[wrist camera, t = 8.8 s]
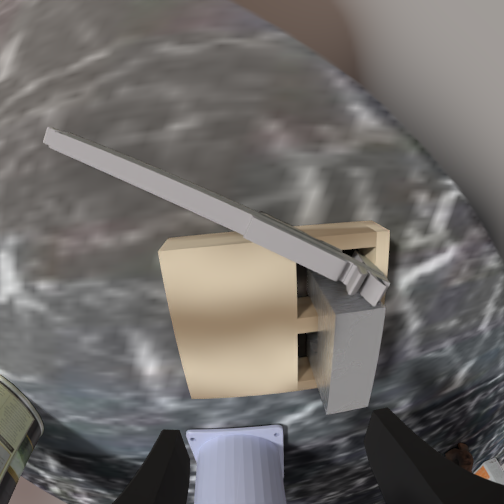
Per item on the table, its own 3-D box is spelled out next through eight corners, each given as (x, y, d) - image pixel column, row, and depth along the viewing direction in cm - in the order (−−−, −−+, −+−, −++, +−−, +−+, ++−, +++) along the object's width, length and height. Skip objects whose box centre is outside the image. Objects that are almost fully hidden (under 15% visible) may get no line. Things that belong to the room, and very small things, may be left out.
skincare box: (483, 461, 32) (509, 505, 20) (495, 456, 32) (521, 497, 21) (463, 481, 34) (486, 523, 22) (476, 476, 34) (498, 516, 23)
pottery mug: (459, 459, 30) (452, 506, 24) (405, 458, 34) (394, 506, 28) (493, 429, 24) (490, 488, 18) (429, 429, 28) (419, 491, 21)
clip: (339, 347, 20) (367, 406, 15) (306, 352, 20) (326, 414, 15) (344, 261, 18) (386, 307, 13) (306, 265, 18) (335, 314, 13)
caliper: (360, 250, 18) (410, 294, 12) (352, 266, 18) (397, 316, 12) (51, 126, 15) (-16, 124, 9) (46, 143, 15) (-22, 147, 9)
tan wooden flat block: (361, 356, 21) (373, 377, 18) (195, 375, 21) (191, 398, 18) (371, 220, 18) (389, 230, 15) (168, 237, 17) (157, 251, 15)
